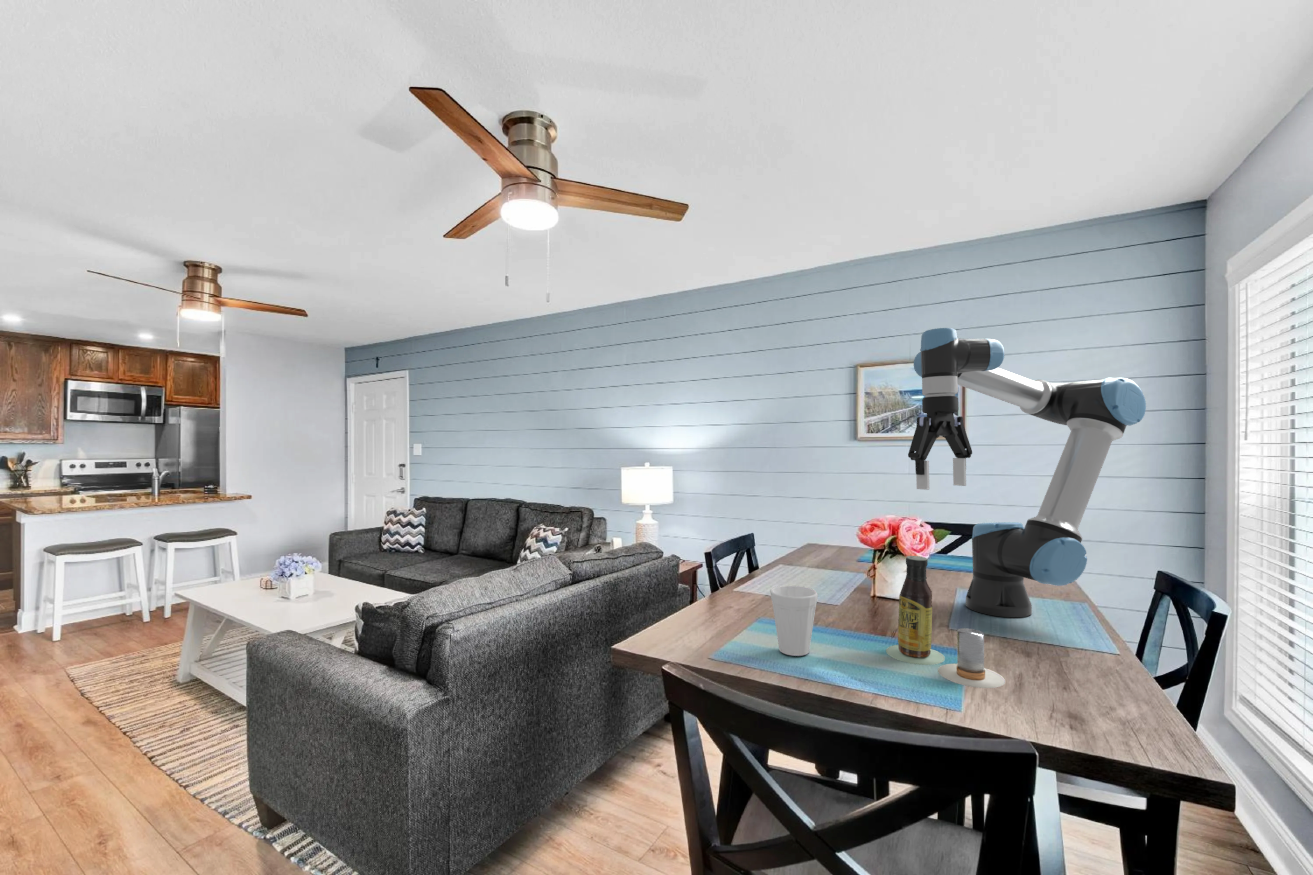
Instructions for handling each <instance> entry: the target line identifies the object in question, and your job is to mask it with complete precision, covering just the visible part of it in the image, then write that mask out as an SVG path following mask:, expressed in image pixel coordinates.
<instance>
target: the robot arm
mask: <svg viewBox="0 0 1313 875" xmlns="http://www.w3.org/2000/svg"><path fill="white" fill-rule="evenodd" d="M920 338H921V339H920V349H919V350H920V352H918V353H917V354H916V355H915V357H914V360H913V369H914V372H915V373H916V374H917V376H919V377H920V378H921V393H922V394H921V395H922V396H924V397H922V399H921V406H922V409H921V410H922V414H926V416H917V418H916V427H915V430H914V433H913V436H912V441H911V444H910V446H909V451H908V453H907V457H908V458H910V460H911V461H915V463H914V464H915V476H916V490H925V491H928V490H930V461H929V460H927V458H928V456H929V454H930V452H931V450H932V448H933V447H934V444H935V442H936V441H937V439H938V438H940V437H943V438H944V439H945V441H946V442H947V444H948V446H949V447H950V448H949V449H950V450H951V451H952V454H954V457H952V470H953V471H952V474H953V475H952V476H953V477H952V478H953V479H952V480H953V484H952V485H953V486H959V487H960V486H961V487H966V486H967V459H970V458H972V454H973V450H972V446H971V443H970V440H969V437H968V435H967V431H966V429H965V425H964V424H965V423H964V417H963V416H960V415H959V416H954V413H957V412H959V397H958V396H956V395H957V394H959V386H960V387H964V388H966V389H970V390H971V391H975V392H976V393H980V394H983V395H986V396H989V397H991V398H994V399H997V400H1000V401H1001V402H1005V403H1008V404H1011V405H1014V406H1017V407H1019V410H1021V411H1022V412H1024V413H1025V414H1028V415H1030V416H1033V417H1036V418H1039V419H1042V420H1044V421H1048V422H1050V423H1054V424H1058V425H1063V426H1067V428H1068V429H1069V430H1070V433H1069V435H1068V437H1067V440H1066V443H1065V445H1064V448H1063V450H1062V452H1061V455H1060V456H1059V457H1060V458H1059V461H1058V463H1057V465H1056V468H1055V470H1054V473H1053V475H1052V478H1051V480H1050V482H1049V485H1048V488H1047V490H1046V493H1045V495H1044V498H1043V500H1042V503H1041V505H1040V508H1039V510H1038V513H1037V514H1036V516H1034V517H1031V518H1028V519H1027V521H1026V523H1025V525H1023V523H1021V522H1010V521H1009V522H999V521H998V522H980V523H976V524H975V525H973V527H972V536H971V548H972V550H971V551H972V552H971V553H972V555H971V556H972V578H971V582H970V585H969V587H968V590H967V593H966V595H965V606H966V607H967V608H968V609H969V610H972V611H974V612H977V613H981V614H984V615H989V616H994V617H1003V618H1026V617H1029V616H1031V615H1032V614H1033V610H1032V609H1033V604H1032V602H1031V599H1030V597H1029V594H1028V591H1027V588H1026V586H1025V582H1024V579H1027V580H1028V579H1029V580H1032V581H1036V582H1038V583H1040V584H1043V585H1051V586H1057V587H1060V586H1061V587H1062V586H1067V585H1068V584H1072V583H1074V582H1075V581H1077V580H1078V579H1079V578H1080V577H1082V575H1083V573H1084V571H1085V570H1086V567H1087V564H1088V556H1086V554H1087V550H1086V548H1085V546H1084V545H1083V544H1082V541H1083V536H1082V534H1081V533H1080V531H1079V527H1080V525H1081V522H1082V519H1083V518H1084V514H1085V511H1086V508H1087V506H1088V504H1089V501H1090V499H1091V496H1092V494H1093V491H1094V489H1095V485H1096V483H1097V481H1098V478H1099V476H1100V473H1101V471H1102V468H1103V465H1104V463H1105V460H1106V457H1107V455H1108V453H1109V450H1110V448H1111V445H1112V443H1113V442H1114V441H1117V440H1119V439H1121V438H1122V437H1123V436H1124V434H1125V431H1126V428H1127V426H1133V425H1135V424H1138V423H1140V422H1141V421H1142V420H1143V418H1144V417H1145V415H1146V410H1147V403H1146V402H1147V401H1146V397H1145V395H1144V392H1143V390H1142V389H1141V387H1140V386H1139V385H1138V384H1137V383H1136V382H1135V381H1134V380H1132V379H1130V378H1127V377H1105V378H1101V379H1093V380H1092V379H1090V380H1089V379H1088V380H1082V381H1070V382H1069V381H1068V382H1051V381H1048V380H1044V379H1035V380H1033V379H1030V378H1027V377H1025V376H1022V375H1019V374H1016V373H1014V372H1010V371H1008V370H1007V369H1006V370H1005V369H1003V368H1000V367H1001V365H1002V364H1003V361H1004V359H1005V348H1004V346H1003V344H1002V343H1001V342H1000V341H999V340H997V339H993V338H992V339H991V338H987V337H983V338H961V337H960V338H959V336H958V334H957V330H956V329H955V328H952V327H937V328H932V329H931V328H930V329H927V330H925V331H923V332H922V333H921V337H920Z"/></svg>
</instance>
